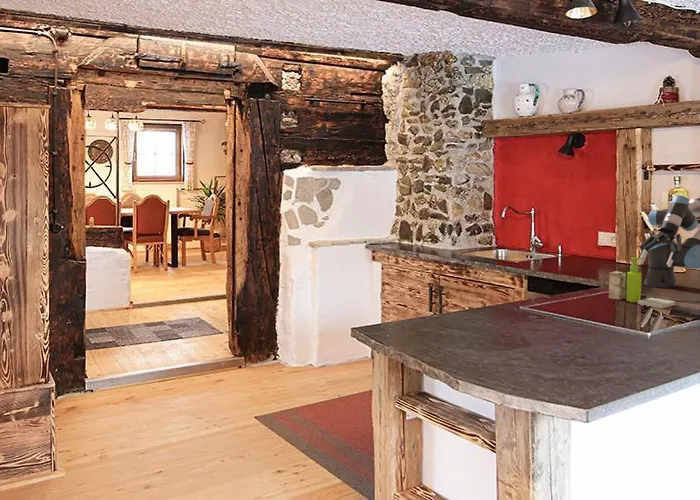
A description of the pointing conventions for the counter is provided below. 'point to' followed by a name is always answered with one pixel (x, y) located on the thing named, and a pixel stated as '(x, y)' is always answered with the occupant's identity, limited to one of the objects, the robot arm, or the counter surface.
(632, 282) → the soap dispenser
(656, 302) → the sage pad
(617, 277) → the birch post
